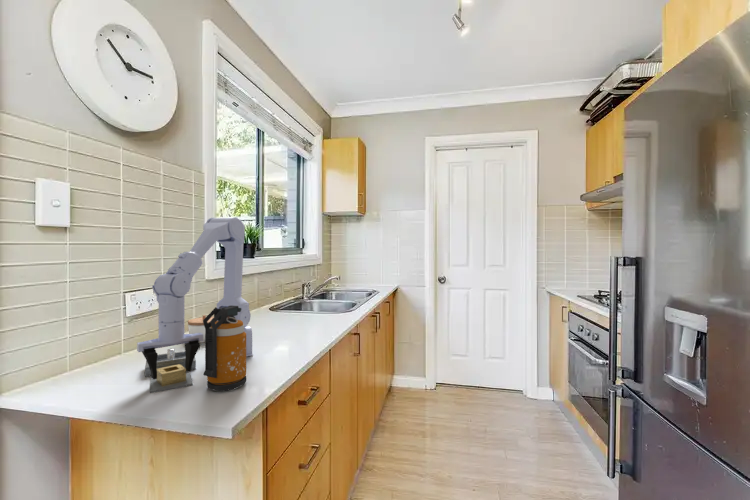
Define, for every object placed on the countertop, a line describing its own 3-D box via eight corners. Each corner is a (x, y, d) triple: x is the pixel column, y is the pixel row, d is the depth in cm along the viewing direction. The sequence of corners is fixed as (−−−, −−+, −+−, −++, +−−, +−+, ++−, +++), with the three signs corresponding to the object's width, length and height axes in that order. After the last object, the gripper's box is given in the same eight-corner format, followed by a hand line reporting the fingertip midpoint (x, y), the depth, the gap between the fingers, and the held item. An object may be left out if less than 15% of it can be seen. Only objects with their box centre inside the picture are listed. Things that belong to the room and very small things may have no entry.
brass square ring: (179, 375, 92) (179, 364, 92) (186, 380, 88) (186, 369, 88) (156, 380, 88) (156, 368, 88) (161, 386, 85) (161, 374, 85)
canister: (253, 381, 89) (254, 304, 89) (221, 399, 79) (221, 311, 78) (225, 377, 92) (226, 302, 92) (191, 393, 81) (191, 309, 81)
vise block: (193, 361, 105) (193, 343, 105) (195, 369, 98) (195, 349, 98) (146, 368, 99) (146, 349, 99) (145, 377, 92) (145, 356, 92)
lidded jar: (198, 346, 121) (198, 319, 121) (181, 341, 127) (181, 316, 127) (225, 339, 130) (225, 314, 130) (209, 335, 136) (209, 311, 136)
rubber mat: (190, 374, 94) (190, 372, 94) (192, 385, 87) (192, 383, 87) (151, 380, 90) (151, 378, 90) (149, 392, 82) (149, 391, 82)
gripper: (197, 314, 96) (196, 363, 96) (134, 322, 86) (134, 377, 86) (206, 318, 91) (205, 370, 91) (140, 327, 81) (140, 385, 81)
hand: (171, 374), depth 88 cm, fingers open, 7 cm apart
